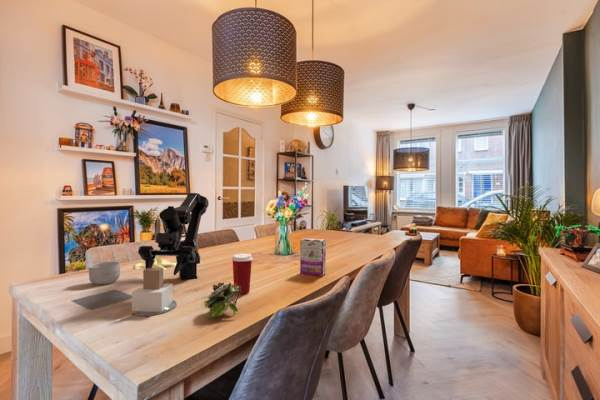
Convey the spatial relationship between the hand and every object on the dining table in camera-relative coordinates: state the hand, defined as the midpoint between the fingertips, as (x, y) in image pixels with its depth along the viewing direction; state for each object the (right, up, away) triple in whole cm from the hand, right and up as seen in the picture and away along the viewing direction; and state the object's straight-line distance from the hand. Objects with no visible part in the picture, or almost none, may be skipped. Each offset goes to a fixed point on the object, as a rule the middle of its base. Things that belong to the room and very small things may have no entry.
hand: (160, 274), depth 103 cm
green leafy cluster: (+24, -10, -9) cm, 27 cm away
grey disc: (0, -9, -5) cm, 11 cm away
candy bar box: (+53, -9, +39) cm, 66 cm away
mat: (-19, -9, 0) cm, 21 cm away
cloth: (-23, -8, +46) cm, 52 cm away
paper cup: (+25, -10, +11) cm, 29 cm away
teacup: (-31, -8, +20) cm, 38 cm away
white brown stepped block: (0, -9, -5) cm, 10 cm away
